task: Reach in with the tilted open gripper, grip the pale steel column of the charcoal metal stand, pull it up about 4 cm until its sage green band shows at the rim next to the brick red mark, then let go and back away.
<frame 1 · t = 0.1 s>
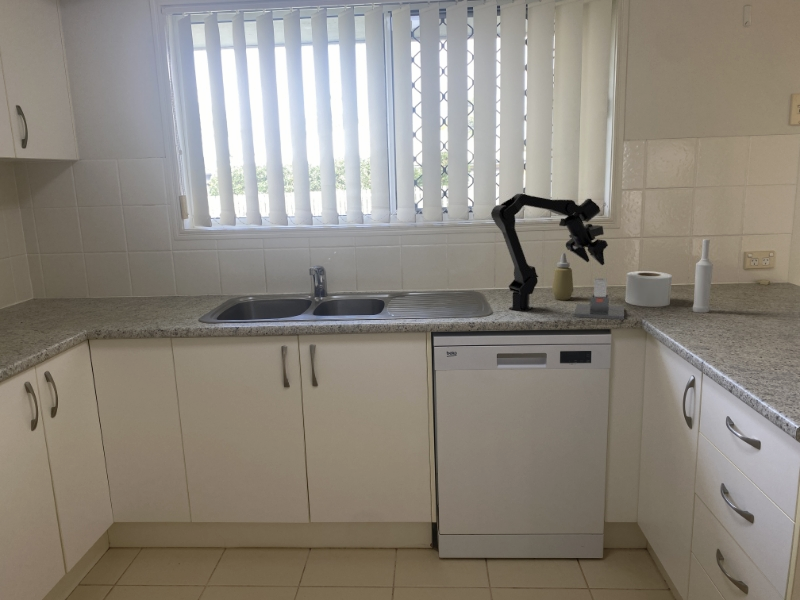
hand: (595, 263, 218), 15 cm above the worktop, tool tilted 35°, fingers open, 9 cm apart
stand: (599, 312, 203), on the worktop
column: (600, 294, 202), point 7 cm above the worktop, slide at 0.0 cm
squeeze bottle: (562, 299, 228), on the worktop
bottle: (700, 311, 201), on the worktop
white toilet paper roll: (647, 302, 218), on the worktop
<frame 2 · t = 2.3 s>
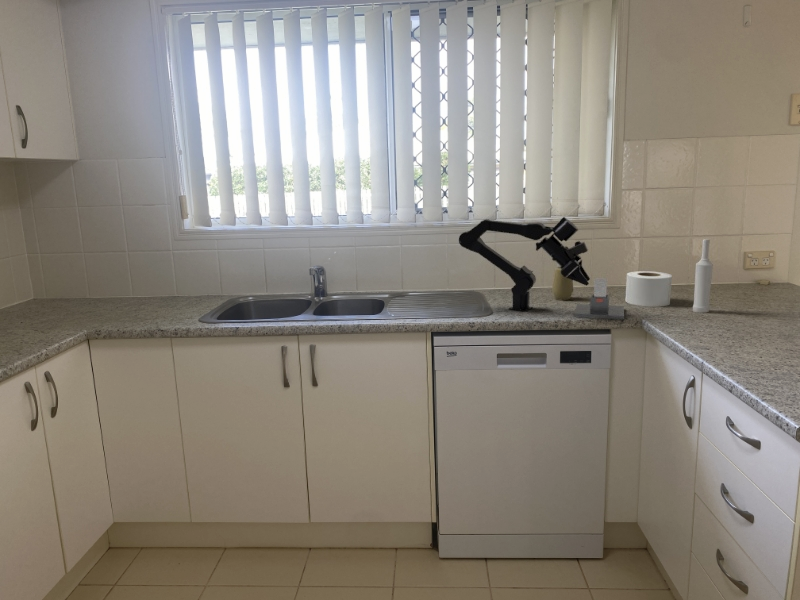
hand: (588, 282, 202), 11 cm above the worktop, tool tilted 45°, fingers open, 9 cm apart
nothing on the worktop moved.
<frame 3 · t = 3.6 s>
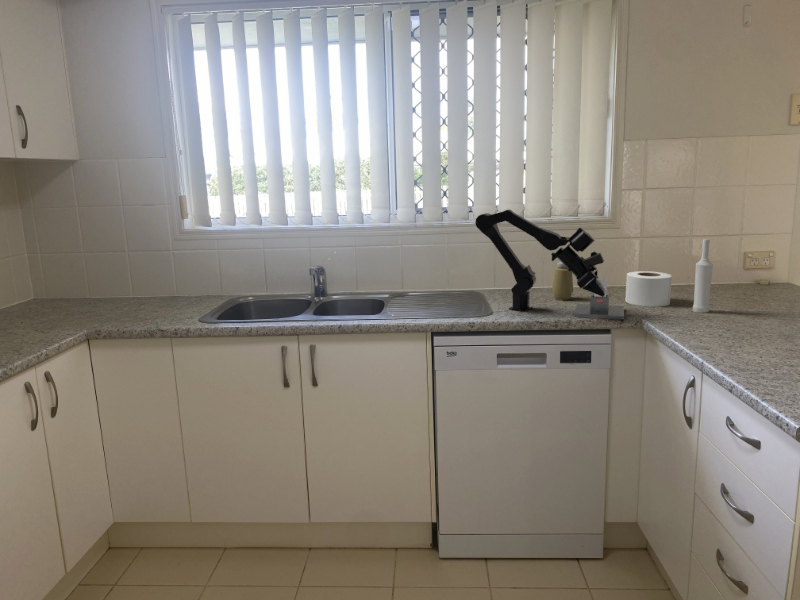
hand: (604, 293, 201), 7 cm above the worktop, tool tilted 45°, fingers open, 9 cm apart
nothing on the worktop moved.
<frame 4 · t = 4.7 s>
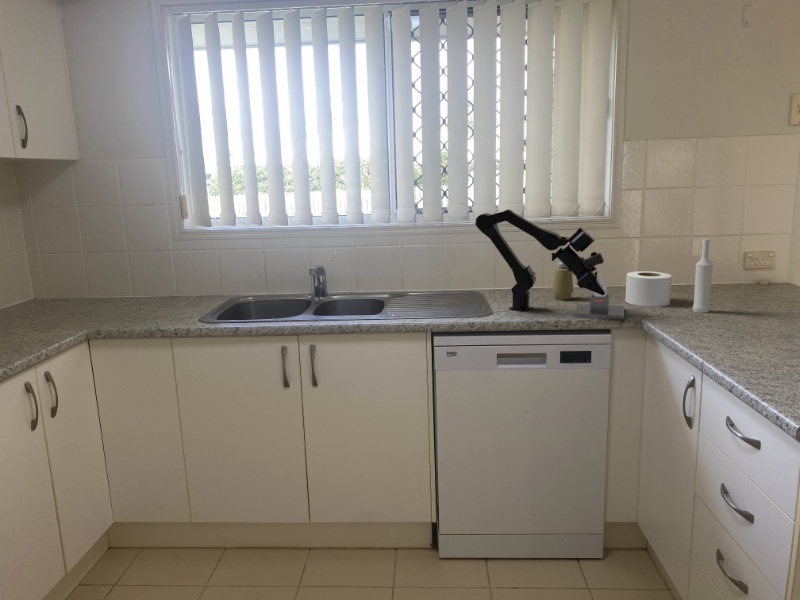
hand: (604, 293, 201), 7 cm above the worktop, tool tilted 45°, fingers closed on column, 4 cm apart
column: (600, 294, 202), point 7 cm above the worktop, slide at 0.0 cm, touching gripper
everything else where it was.
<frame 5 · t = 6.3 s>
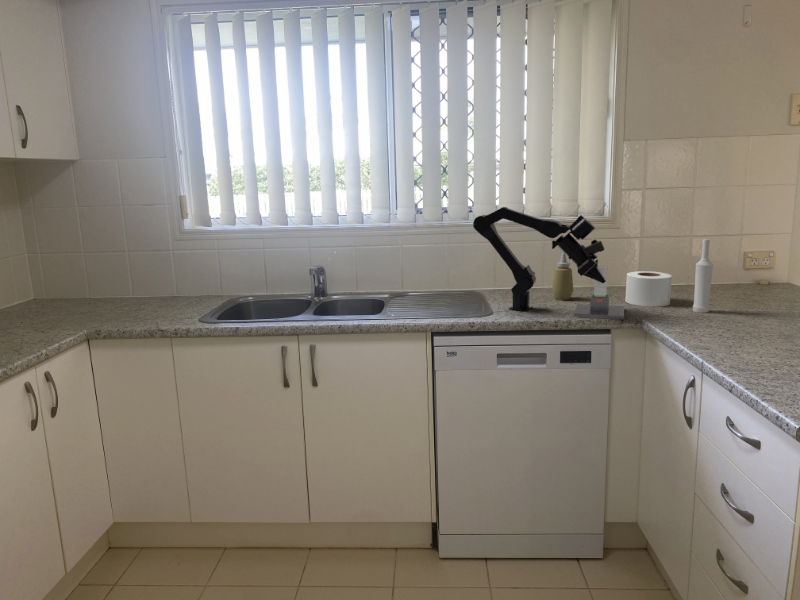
hand: (604, 281, 200), 11 cm above the worktop, tool tilted 45°, fingers closed on column, 4 cm apart
column: (600, 282, 201), point 11 cm above the worktop, slide at 4.2 cm, touching gripper
everything else where it was.
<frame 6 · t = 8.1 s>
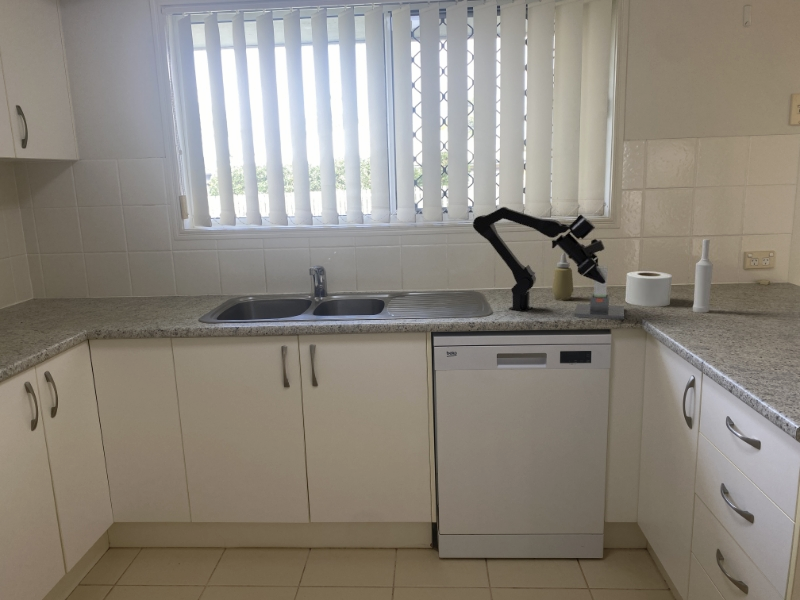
hand: (604, 280, 200), 12 cm above the worktop, tool tilted 45°, fingers open, 9 cm apart
column: (600, 282, 201), point 11 cm above the worktop, slide at 4.3 cm
everything else where it was.
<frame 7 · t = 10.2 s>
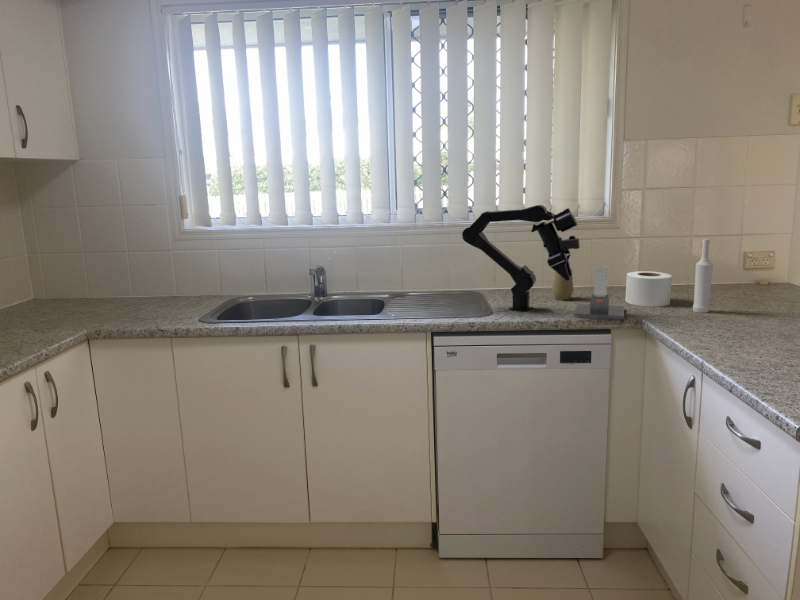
hand: (569, 278, 204), 12 cm above the worktop, tool tilted 25°, fingers open, 9 cm apart
nothing on the worktop moved.
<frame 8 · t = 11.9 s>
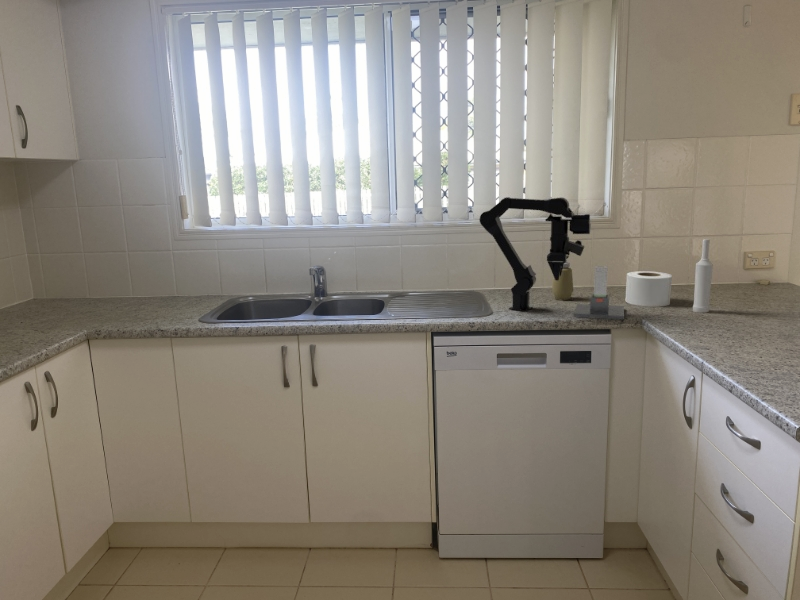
hand: (558, 278, 205), 12 cm above the worktop, tool pointing down, fingers open, 9 cm apart
nothing on the worktop moved.
at the end: column slide at 4.3 cm; the gripper is holding nothing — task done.
